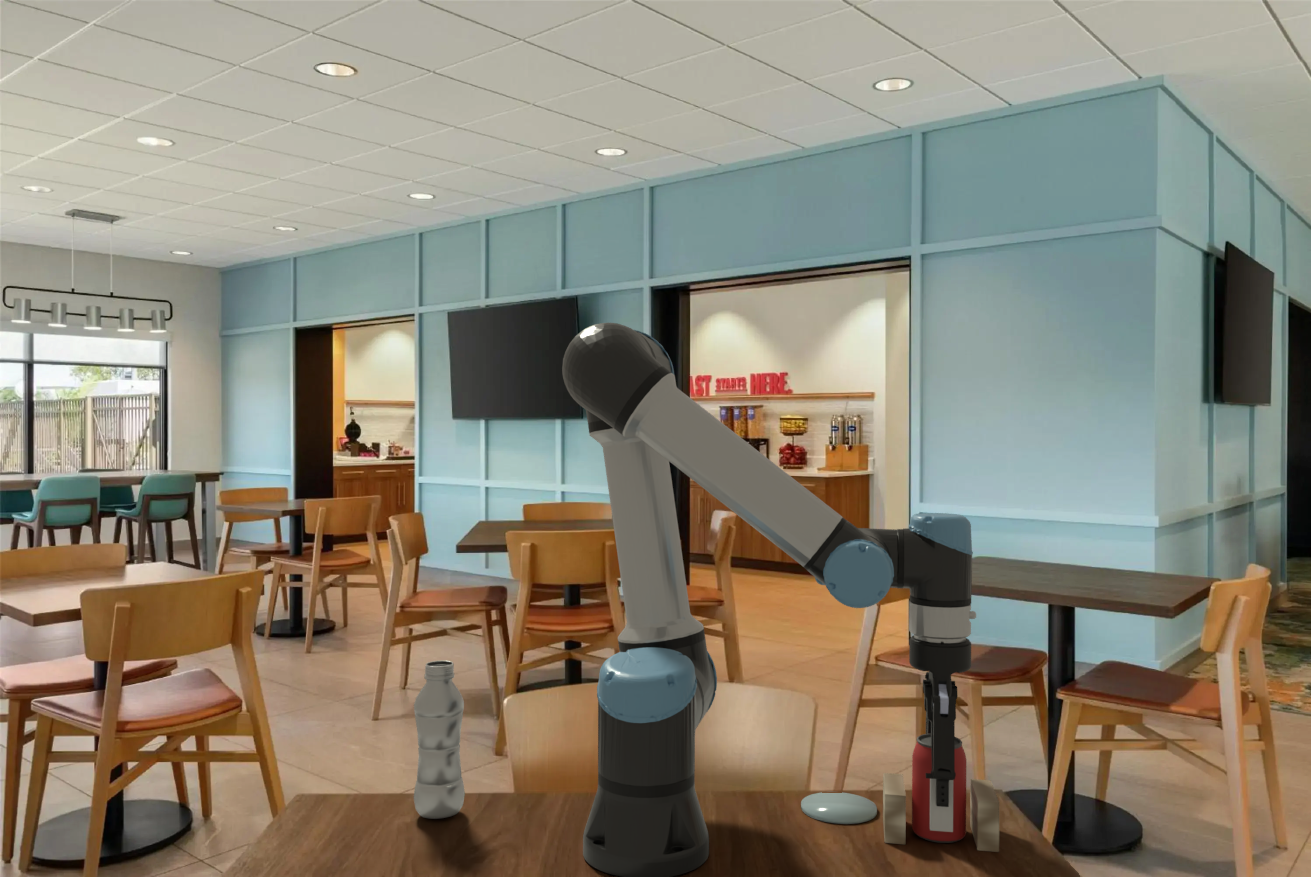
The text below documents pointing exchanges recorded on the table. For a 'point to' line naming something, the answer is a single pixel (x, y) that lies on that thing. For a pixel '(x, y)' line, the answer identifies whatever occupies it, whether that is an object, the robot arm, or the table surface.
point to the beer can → (922, 793)
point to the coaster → (839, 808)
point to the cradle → (981, 812)
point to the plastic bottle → (439, 743)
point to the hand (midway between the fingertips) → (938, 818)
